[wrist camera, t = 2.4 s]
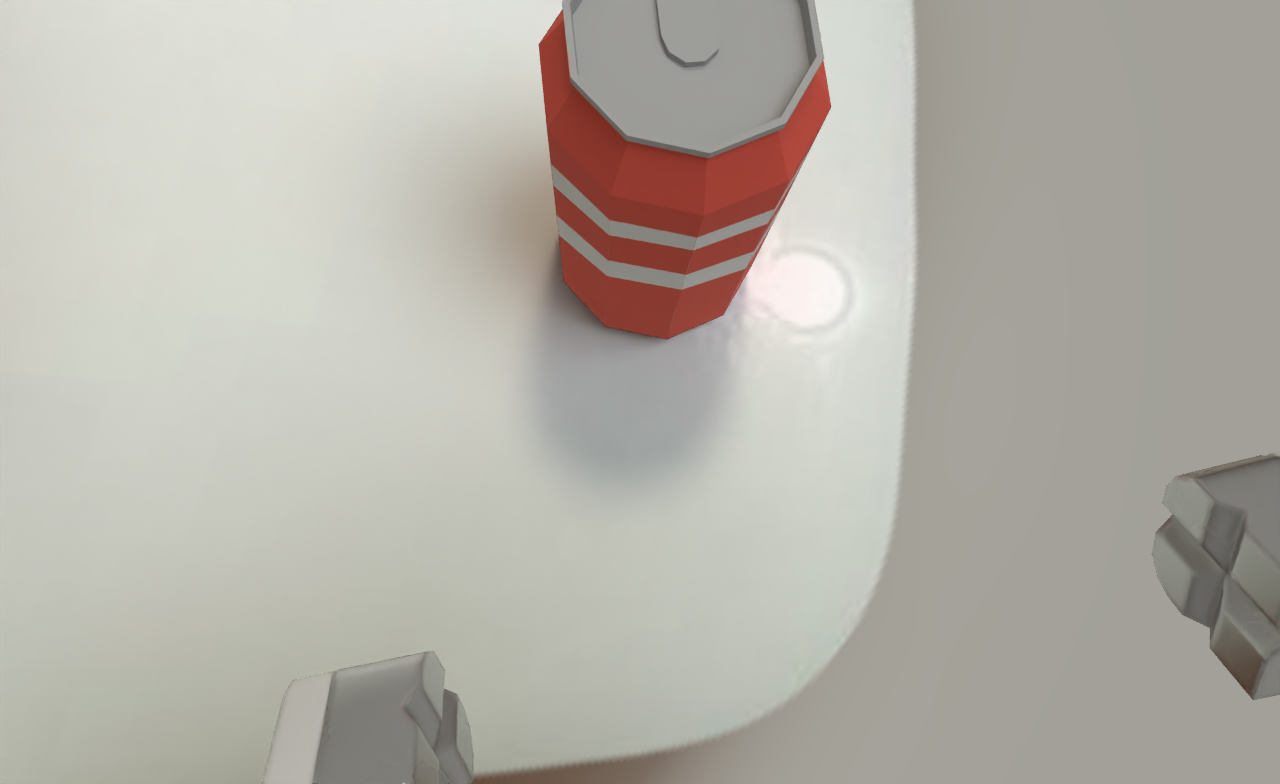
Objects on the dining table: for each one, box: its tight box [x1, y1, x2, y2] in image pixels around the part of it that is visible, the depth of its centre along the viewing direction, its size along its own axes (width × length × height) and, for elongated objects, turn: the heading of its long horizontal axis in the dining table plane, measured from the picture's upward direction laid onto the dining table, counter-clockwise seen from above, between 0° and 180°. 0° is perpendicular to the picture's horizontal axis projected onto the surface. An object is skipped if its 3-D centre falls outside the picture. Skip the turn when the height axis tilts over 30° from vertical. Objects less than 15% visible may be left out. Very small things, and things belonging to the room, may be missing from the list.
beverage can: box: [539, 0, 831, 339], centre depth 23 cm, size 6×6×12 cm
